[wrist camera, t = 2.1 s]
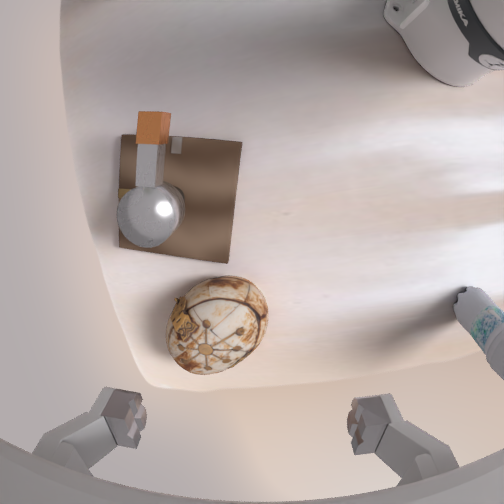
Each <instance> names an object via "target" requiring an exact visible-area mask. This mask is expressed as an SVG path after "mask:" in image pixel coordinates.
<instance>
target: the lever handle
mask: <svg viewBox="0 0 504 504" xmlns="http://www.w3.org/2000/svg"><path fill="white" fill-rule="evenodd" d="M170 118H171V113H166V112H145V111H139V113H138V123H137V135H136V144H138V149H137V165H136V186H138V187H136V188H134V189H131V190H130V191H128V192H127V193H126V194H125V195H124V196H123V197H122V199H121V200H120V202H119V205H118V209H117V221H118V225H119V227H120V230H121V231H122V233H123V234H124V236H125V237H126V238H127V239H128V240H129V241H130V242H132V243H133V244H135V245H137V246H140V247H145V248H151V247H156V246H158V245H160V244H162V243H163V242H164V241H165V240H166V239H167V238H168V237H169V236H170V235H171V234H172V233H173V232H174V231H175V230H176V229H177V228H178V227H179V226H180V225H181V223H182V221H183V219H184V215H185V203H184V200H183V197H182V195H181V193H180V192H179V191H178V190H177V188H176V187H174V186H173V185H172V184H170V183H168V182H165V181H163V175H164V161H165V149H166V144H168V137H169V127H170Z"/></svg>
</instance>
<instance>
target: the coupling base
mask: <svg viewBox="0 0 504 504" xmlns="http://www.w3.org/2000/svg"><path fill="white" fill-rule="evenodd" d="M241 148H242V142H236V141H226V140H216V139H205V138H192V137H177V136H169V137H168V144H166V149H165V161H164V175H163V181H165V182H168V183H170V184H172V185H173V186H174V187H176V188H177V190H178V191H179V192H180V193H181V195H182V197H183V200H184V203H185V215H184V219H183V221H182V223H181V225H180V226H179V227H178V228H177V229H176V230H175V231H174V232H173V233H172V234H171V235H170V236H169V237H168V238H167V239H166V240H165V241H164V242H163V243H162V244H160V245H158V246H156V247H151V248H145V247H140V246H137V245H135V244H133V243H132V242H130V241H129V240H128V239H127V238H126V237H125V236H124V234H123V233H122V231H121V230H120V227H119V247H121V248H127V249H133V250H140V251H146V252H153V253H159V254H166V255H172V256H179V257H186V258H192V259H199V260H206V261H212V262H219V263H226V264H228V261H229V253H230V244H231V234H232V225H233V216H234V207H235V199H236V190H237V181H238V173H239V165H240V156H241ZM137 149H138V144H136V135H122V138H121V153H120V174H119V189H118V198H119V202H120V200H121V199H122V197H123V196H124V195H125V194H126V193H127V192H128V191H130V190H131V189H134V188H136V187H138V186H136V165H137Z"/></svg>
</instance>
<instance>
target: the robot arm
mask: <svg viewBox="0 0 504 504" xmlns="http://www.w3.org/2000/svg"><path fill="white" fill-rule="evenodd" d="M393 7H394V8H396V9H397V11H395V10H394V9H393ZM384 18H385V19H386V21H387V22H388V23H389V24H390V25H391V26H392V27H393V28H394V29H395V30H397V31H398V32H399V33H400V35H401V36H402V38H403V39H404V41H405V43H406V45H407V47H408V48H409V50H410V52H411V53H412V55H413V56H414V58H415V59H416V60H417V61H418V63H419V64H420V65H421V66H422V67H423V68H424V69H425V70H426V71H427V72H429V73H430V74H431V75H432V76H434V77H435V78H437V79H438V80H440V81H442V82H444V83H446V84H449V85H452V86H458V87H464V86H469V85H472V84H474V83H475V82H477V81H478V80H479V79H481V78H482V77H483V76H485V75H487V74H489V73H491V72H493V71H495V70H504V0H387V2H386V6H385V9H384ZM142 400H143V399H142V396H141V394H140V393H137V392H131V391H126V390H121V389H114V388H110V387H104V388H103V389H102V391H101V392H100V394H99V396H98V398H97V399H96V401H95V403H94V405H93V407H92V408H91V410H90V411H89V413H88V412H85V413H83V414H81V415H79V416H77V417H76V418H74V419H72V420H70V421H68V422H66V423H64V424H62V425H60V426H58V427H56V428H55V429H53V430H51V431H49V432H47V433H45V434H44V435H43V436H42V438H41V439H40V441H39V443H38V444H37V446H36V448H35V449H34V451H33V452H32V453H29V452H27V451H25V450H23V449H21V448H19V447H17V446H14V445H12V444H10V443H9V442H6V441H5V440H3V439H1V438H0V504H504V449H502V450H500V451H497V452H495V453H493V454H491V455H489V456H486V457H484V458H482V459H479V460H477V461H475V462H472V463H470V464H467V465H464V466H462V467H459V465H458V463H457V461H456V459H455V457H454V455H453V453H452V451H451V449H450V447H449V446H448V445H446V444H445V443H443V442H441V441H440V440H438V439H436V438H435V437H433V436H431V435H430V434H428V433H427V432H425V431H423V430H422V429H420V428H418V427H417V426H415V425H414V424H412V423H411V422H409V421H404V420H403V417H402V415H401V413H400V411H399V409H398V407H397V405H396V403H395V400H394V398H393V396H392V395H391V394H390V393H389V394H382V395H375V396H366V397H357V398H354V399H353V401H352V404H351V406H352V410H351V411H350V412H349V414H348V418H347V428H348V432H349V435H351V436H352V437H353V439H352V442H351V444H352V448H353V452H354V455H360V454H367V453H375V454H376V455H377V456H378V457H379V458H380V459H381V460H382V461H383V462H384V463H386V464H387V465H388V466H389V467H390V468H391V469H392V470H393V471H394V472H396V473H397V474H398V475H399V476H400V477H401V478H402V479H401V480H400V482H399V483H398V485H397V486H396V487H392V488H388V489H383V490H378V491H374V492H368V493H362V494H356V495H350V496H343V497H335V498H327V499H317V500H305V501H289V502H287V501H286V502H240V501H239V502H238V501H222V500H209V499H199V498H190V497H183V496H176V495H170V494H164V493H157V492H152V491H148V490H143V489H138V488H134V487H129V486H125V485H121V484H117V483H113V482H110V481H106V480H103V479H99V478H96V477H94V476H93V475H92V473H91V472H90V471H89V468H90V467H92V466H93V465H94V464H96V463H97V462H98V461H99V460H101V459H102V458H103V457H104V456H106V455H107V454H108V453H109V452H111V451H112V450H113V449H114V448H116V447H117V445H119V446H124V447H130V448H136V449H137V446H138V444H139V441H140V438H141V435H140V431H141V430H143V429H144V428H145V425H146V418H147V414H146V409H145V407H144V406H143V405H142V404H141V402H142Z"/></svg>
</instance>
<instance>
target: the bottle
mask: <svg viewBox="0 0 504 504" xmlns="http://www.w3.org/2000/svg"><path fill="white" fill-rule="evenodd" d="M457 297H458V302H456V303H454V306H453V308H454V312H455V315H456V318H457V320H458V321H459V323H460V324H461V325H462V326H463V327H464V328H465V329H466V330H467V331H468V332H469V333H470V335H471V336H472V337H473V339H474V340H475V341H476V343H477V344H478V345H479V347H480V348H481V349H482V351H483V352H484V353H485V354H486V359H487V362H488V363H489V364H490V366H491V368H492V369H493V370H494V371H495V372H496V373H497V374H498V375H499V376H500V377H501V378H502V379H503V380H504V312H503V311H502V310H501V309H500V308H499V307H498V306H497V305H496V304H495V303H494V302H493V300H492V299H491V298H490V297H489V296H488V295H487V294H486V293H485V292H484V291H483V290H482V289H480V288H475V287H471V286H469V287H467V288H466V292H465V293H459V294H458V296H457Z"/></svg>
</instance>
